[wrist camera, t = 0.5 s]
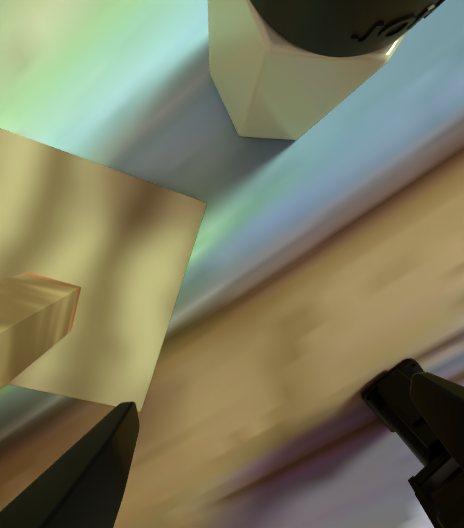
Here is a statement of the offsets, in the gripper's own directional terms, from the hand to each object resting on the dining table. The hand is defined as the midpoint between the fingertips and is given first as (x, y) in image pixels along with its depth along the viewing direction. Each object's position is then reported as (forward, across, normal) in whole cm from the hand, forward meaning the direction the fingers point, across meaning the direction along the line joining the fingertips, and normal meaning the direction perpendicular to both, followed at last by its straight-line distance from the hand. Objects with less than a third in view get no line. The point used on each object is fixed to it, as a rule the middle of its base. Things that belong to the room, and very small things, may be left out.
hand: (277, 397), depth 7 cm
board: (+12, +17, -2) cm, 21 cm away
